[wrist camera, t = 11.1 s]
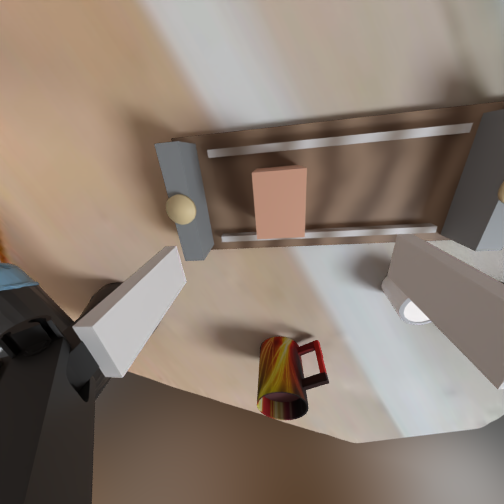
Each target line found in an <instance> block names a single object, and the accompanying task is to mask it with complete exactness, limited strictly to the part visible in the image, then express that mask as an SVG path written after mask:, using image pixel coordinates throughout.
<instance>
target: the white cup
mask: <svg viewBox="0 0 504 504" xmlns="http://www.w3.org/2000/svg"><path fill="white" fill-rule="evenodd" d="M381 287H382V290H383V292H384V293H385V295H386V296H387V298H388V299H389V301H390V303H391V304H392V306H393V307H394V309H395V311H396V312H397V314H398V315H399V317H400V318H401V319H402V320H403V321H404V322H405V323H408V324H412V325H423V324H427V323H431V322H432V321H431V320H430V319H429V318H428V317H427V316H426V315H425V314H424V313H423V312H422V311H421V310H420V309H419V308H418V307H417V306H416V305H415V304H414V303H413V302H412V301H411V300H410V299H409V298H408V297H407V296H406V295H405V294H404V293H403V292H402V291H401V290H400V289H399V287H398V286H397V285H396V284H395V283H394V282H393V281H392V280H391V279H390V278H389V277H388V276H386V277H385V279H384V280H383V281H382V286H381Z"/></svg>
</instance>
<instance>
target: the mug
mask: <svg viewBox="0 0 504 504" xmlns="http://www.w3.org/2000/svg"><path fill="white" fill-rule="evenodd" d="M312 351H315V352H316V356H317V361H318V365H319V369H320V373H319V374H316V375H313V376H310V377H307V378H304V374H303V367H302V360H301V355H304V354H306V353H309V352H312ZM328 383H329V380H328V376H327V373H326V369H325V365H324V361H323V355H322V351H321V347H320V343H319V341H318V340H315V341H313V342H310V343H308V344H305V345H303V346H300V347H299V345H298V344H297V343H296V342H295V341H293V340H292V339H289V338H287V337H280V336H279V337H271V338H269V339H267V340H265V341H264V342H263V343H262V344H261V347H260V362H259V379H258V396H257V407H258V409H259V411H260V412H261V413H263V414H264V415H266V416H268V417H270V418H273V419H278V420H293V419H297V418H300V417H302V416H304V415H305V414H306V413H307V411H308V401H307V395H306V390H308V389H311V388H314V387H318V386H321V385H324V384H328Z"/></svg>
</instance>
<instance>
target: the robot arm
mask: <svg viewBox="0 0 504 504" xmlns="http://www.w3.org/2000/svg"><path fill="white" fill-rule="evenodd" d="M387 276H388V277H389V278H390V279H391V280H392V281H393V282H394V283H395V284H396V285H397V286H398V287H399V289H400V290H401V291H402V292H403V293H404V294H405V295H406V296H407V297H408V298H409V299H410V300H411V301H412V302H413V303H414V304H415V305H416V306H417V307H418V308H419V309H420V310H421V311H422V312H423V313H424V314H425V315H426V316H427V317H428V318H429V319H430V320H431V321H432V322H433V323H434V324H435V325H436V326H437V327H438V328H439V329H440V330H441V332H442V333H443V334H444V335H445V336H446V337H447V338H448V339H449V340H450V341H451V342H452V343H453V344H454V345H455V346H456V347H457V348H458V349H459V350H460V351H461V352H462V353H463V354H464V355H465V356H466V357H467V358H468V359H469V360H470V361H471V362H472V363H473V364H474V365H475V366H476V367H477V368H478V369H479V370H480V371H481V372H482V373H483V375H484V376H485V377H486V378H487V379H488V380H489V381H490V382H491V383H492V384H493V385H494V386H495V387H496V388H497V389H504V283H503V282H500V281H498V280H496V279H494V278H492V277H490V276H488V275H486V274H485V273H483V272H481V271H479V270H477V269H475V268H474V267H472V266H470V265H468V264H466V263H465V262H463V261H461V260H459V259H457V258H455V257H454V256H452V255H450V254H448V253H446V252H444V251H443V250H441V249H439V248H437V247H435V246H433V245H432V244H430V243H428V242H426V241H424V240H422V239H421V238H419V237H417V236H415V235H413V234H398V235H397V238H396V242H395V246H394V250H393V254H392V258H391V262H390V266H389V271H388V275H387ZM186 282H187V281H186V278H185V274H184V271H183V267H182V263H181V260H180V256H179V253H178V249H177V246H165V247H164V248H163V249H162V250H161V251H159V252H158V253H157V254H156V255H155V256H154V257H152V258H151V259H150V260H149V261H148V262H147V263H145V264H144V265H143V266H142V267H141V268H140V269H139V270H137V271H136V272H135V273H134V274H133V275H132V276H130V277H129V278H128V279H127V280H126V281H125V282H123V283H112V284H108V285H106V286H104V287H103V288H101V289H100V290H99V291H98V292H96V293H95V294H94V295H93V297H92V298H91V300H90V302H89V304H88V305H87V307H86V308H85V309H84V311H83V312H82V314H81V315H80V317H79V318H78V319H77V320H76V321H75V322H74V321H73V320H72V319H71V318H70V317H69V316H68V315H67V314H66V313H65V312H64V311H63V310H62V309H61V308H60V307H59V306H58V305H57V304H56V303H55V302H54V301H53V300H52V299H51V298H50V297H49V296H48V295H47V294H46V293H45V292H44V291H43V290H42V289H41V288H40V286H39V283H38V282H35V281H34V280H32V279H31V278H30V277H29V276H28V275H27V274H26V273H25V272H23V271H22V270H21V269H20V268H19V267H17V266H16V265H13V264H9V263H0V504H92V478H93V477H92V476H93V449H94V448H93V447H94V418H95V416H94V415H95V400H96V399H97V398H98V396H99V394H100V393H101V392H102V391H103V389H104V388H105V386H106V385H107V384H108V382H109V381H110V379H111V378H112V377H124V375H125V374H126V372H127V371H128V369H129V368H130V366H131V365H132V363H133V362H134V360H135V359H136V357H137V355H138V354H139V352H140V351H141V349H142V348H143V346H144V345H145V343H146V342H147V340H148V339H149V337H150V336H151V334H152V333H153V332H154V331H155V330H156V328H157V327H158V325H159V323H160V321H161V319H162V318H163V316H164V315H165V313H166V312H167V310H168V309H169V307H170V306H171V304H172V303H173V301H174V300H175V298H176V297H177V295H178V294H179V292H180V291H181V289H182V288H183V286H184V285H185V283H186Z"/></svg>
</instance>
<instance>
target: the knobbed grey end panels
mask: <svg viewBox="0 0 504 504" xmlns="http://www.w3.org/2000/svg"><path fill="white" fill-rule="evenodd" d="M154 145H155V148H156V152H157V156H158V160H159V164H160V167H161V171H162V175H163V179H164V182H165V186H166V190H167V194H168V197H169V199H168V200H167V203H166V212H167V214H168V216H169V217H170V219H171V220H172V221H174V222H175V224H176V228H177V231H178V235H179V239H180V243H181V246H182V250H183V254H184V258H185V261H197V260H204V259H205V258H206V256H207V255H208V253H209V252H210V250H211V249H212V247H213V245H214V241H213V235H212V230H211V224H210V219H209V214H208V208H207V203H206V197H205V192H204V187H203V181H202V176H201V170H200V165H199V160H198V154H197V149H196V144H193V143H186V142H180V141H175V142H166V143H157V144H154ZM440 235H442V236H444V237H446V238H449V239H451V240H453V241H455V242H457V243H459V244H461V245H464V246H466V247H468V248H470V249H472V250H474V251H493V250H502V249H503V247H504V109H501V110H496V111H491V112H486V113H483V116H482V118H481V121H480V124H479V127H478V130H477V133H476V135H475V138H474V141H473V144H472V147H471V149H470V152H469V155H468V158H467V161H466V164H465V166H464V169H463V172H462V175H461V178H460V180H459V183H458V186H457V189H456V192H455V195H454V197H453V200H452V203H451V206H450V209H449V211H448V214H447V217H446V220H445V223H444V226H443V228H442V231H441V234H440Z"/></svg>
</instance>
